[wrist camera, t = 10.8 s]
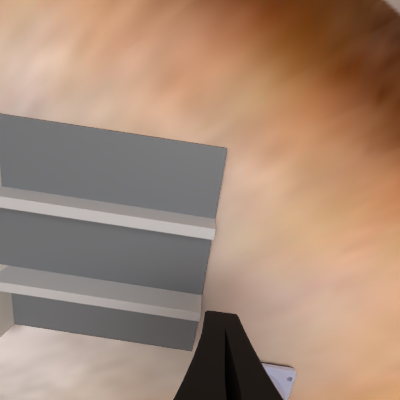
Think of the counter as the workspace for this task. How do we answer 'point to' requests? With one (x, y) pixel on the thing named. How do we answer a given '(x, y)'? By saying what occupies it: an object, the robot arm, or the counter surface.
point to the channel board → (105, 231)
